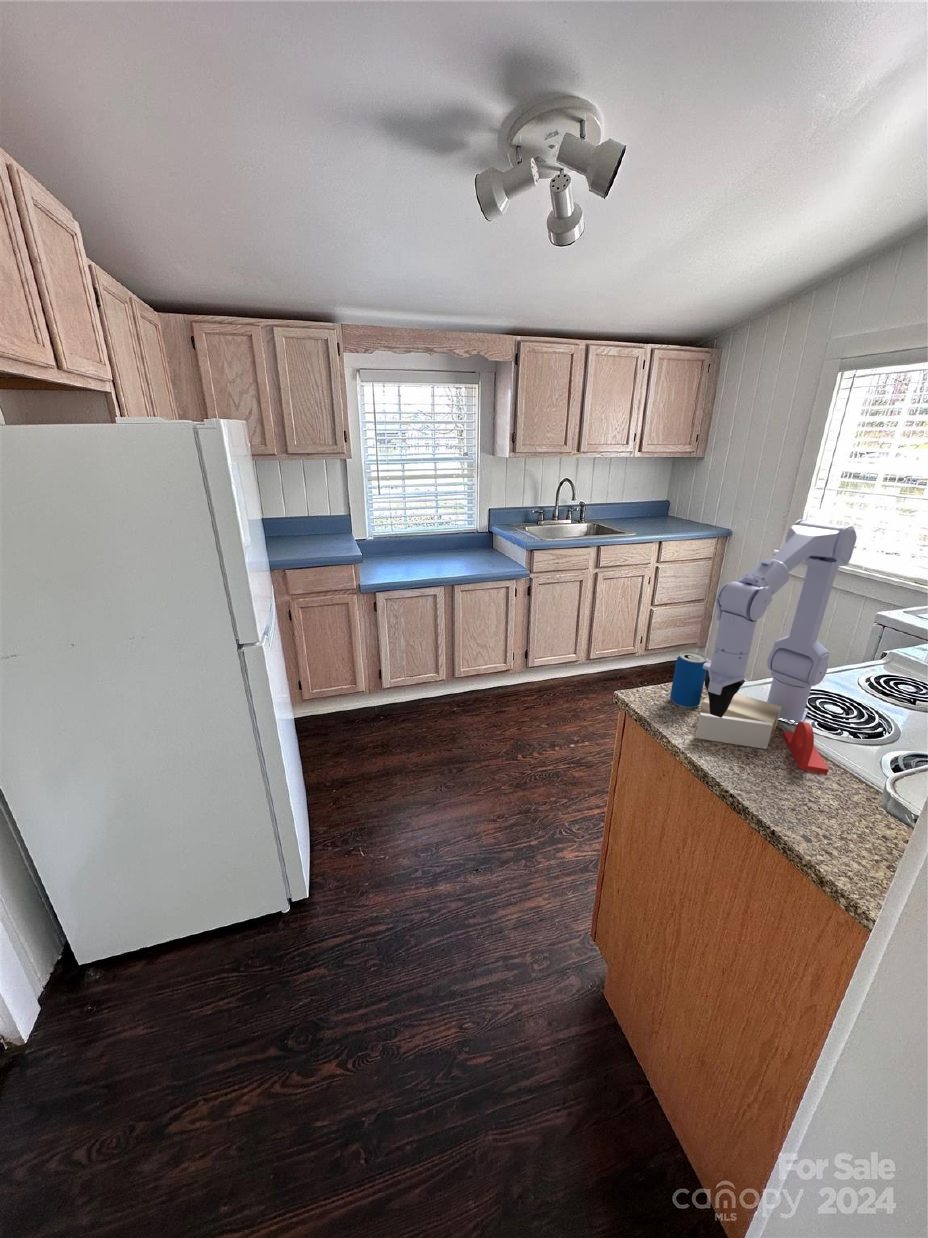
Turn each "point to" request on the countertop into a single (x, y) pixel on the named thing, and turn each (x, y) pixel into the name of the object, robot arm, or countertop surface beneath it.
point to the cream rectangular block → (749, 710)
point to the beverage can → (688, 680)
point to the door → (734, 730)
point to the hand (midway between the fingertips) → (717, 713)
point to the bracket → (804, 748)
